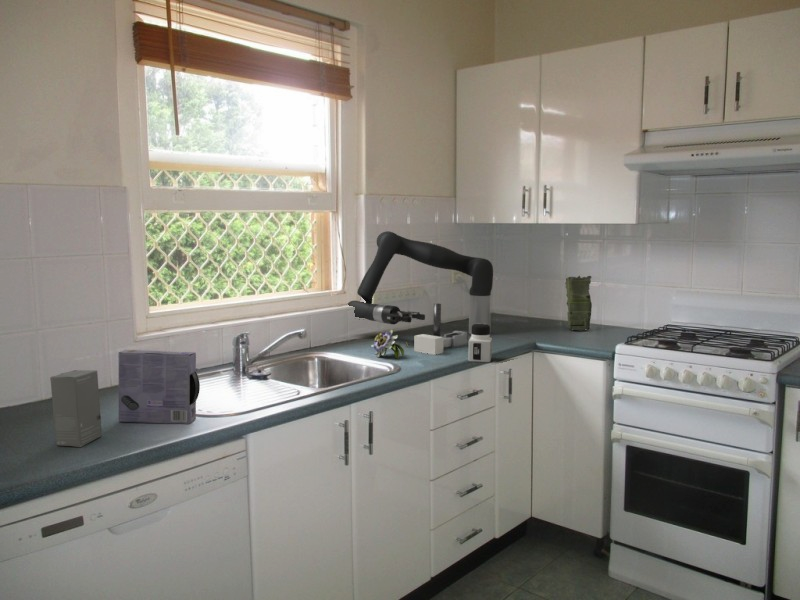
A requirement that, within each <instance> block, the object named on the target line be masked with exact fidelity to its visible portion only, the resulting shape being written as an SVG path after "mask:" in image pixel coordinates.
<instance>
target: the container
mask: <svg viewBox="0 0 800 600" xmlns="http://www.w3.org/2000/svg"><path fill="white" fill-rule="evenodd" d="M470 335H471V336H470V337H469V338H468V357H467V358H468V360H467V361H468V362H476V363H477V362H479V363H490V362H491V360H492V351H493V349H492V348H493V338H492V337H490V336H491V333H490V326H489V325H487V324H482V323H477V324H474V325H472V334H470Z"/></svg>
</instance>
